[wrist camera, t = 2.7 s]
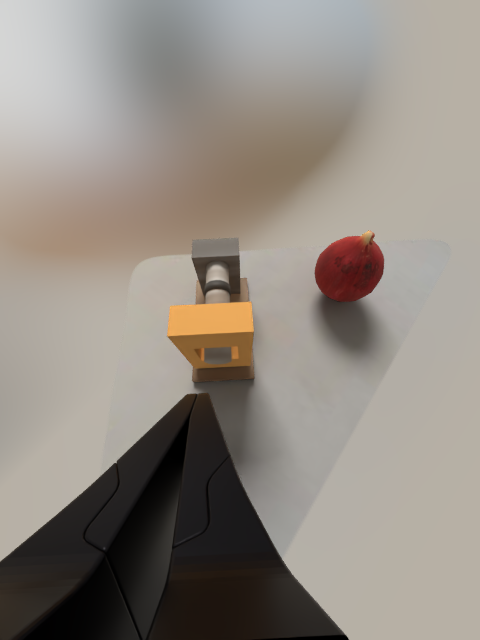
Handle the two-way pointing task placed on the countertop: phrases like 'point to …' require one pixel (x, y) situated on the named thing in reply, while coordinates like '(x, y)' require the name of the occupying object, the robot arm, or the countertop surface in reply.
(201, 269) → the pipe stand
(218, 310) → the collar
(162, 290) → the countertop surface
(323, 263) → the onion
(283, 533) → the countertop surface
